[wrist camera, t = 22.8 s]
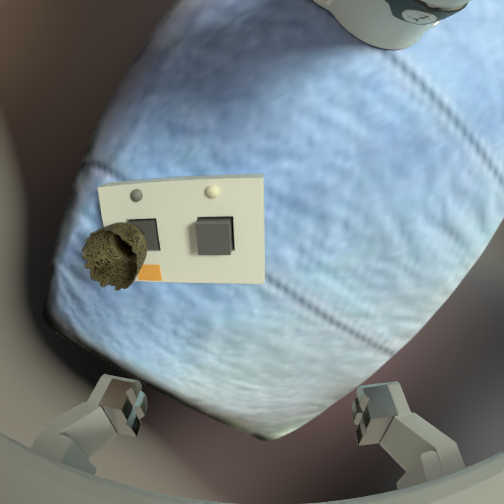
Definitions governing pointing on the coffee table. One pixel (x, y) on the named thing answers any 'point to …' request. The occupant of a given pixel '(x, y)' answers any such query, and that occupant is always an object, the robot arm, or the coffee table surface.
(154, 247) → the block
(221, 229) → the block
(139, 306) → the coffee table surface
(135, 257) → the brown textured goblet
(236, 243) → the panel
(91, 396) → the robot arm
